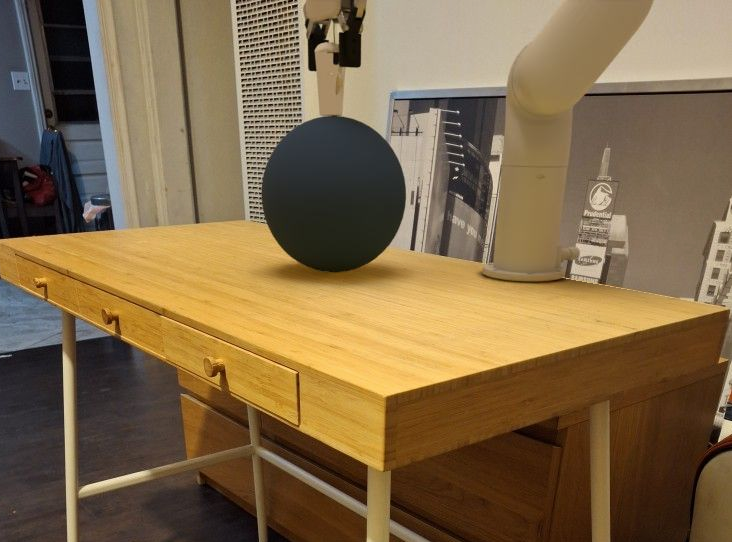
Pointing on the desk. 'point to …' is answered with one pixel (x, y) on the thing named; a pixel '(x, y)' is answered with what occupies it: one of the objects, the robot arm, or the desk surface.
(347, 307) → the desk surface
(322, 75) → the milkshake
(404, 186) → the ball
